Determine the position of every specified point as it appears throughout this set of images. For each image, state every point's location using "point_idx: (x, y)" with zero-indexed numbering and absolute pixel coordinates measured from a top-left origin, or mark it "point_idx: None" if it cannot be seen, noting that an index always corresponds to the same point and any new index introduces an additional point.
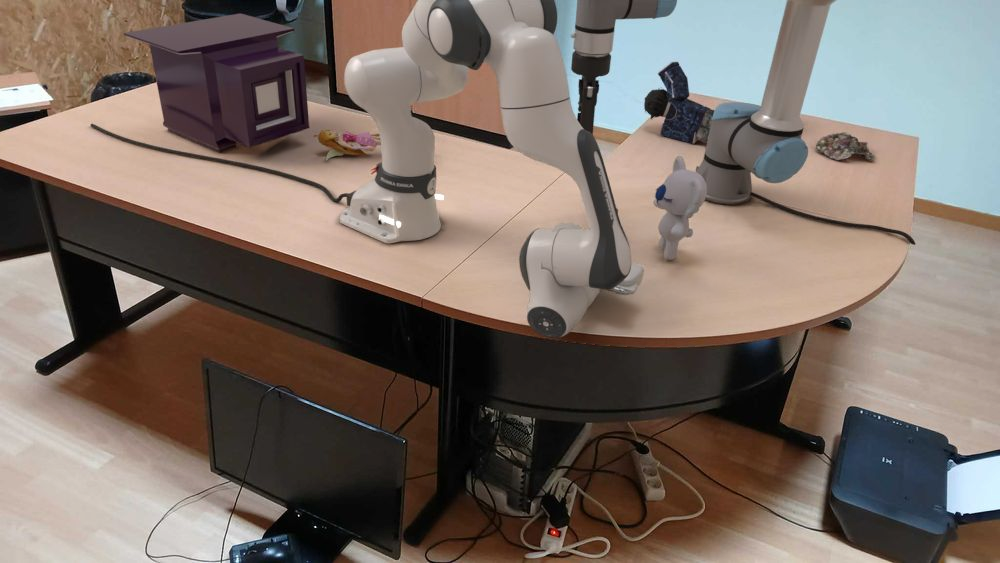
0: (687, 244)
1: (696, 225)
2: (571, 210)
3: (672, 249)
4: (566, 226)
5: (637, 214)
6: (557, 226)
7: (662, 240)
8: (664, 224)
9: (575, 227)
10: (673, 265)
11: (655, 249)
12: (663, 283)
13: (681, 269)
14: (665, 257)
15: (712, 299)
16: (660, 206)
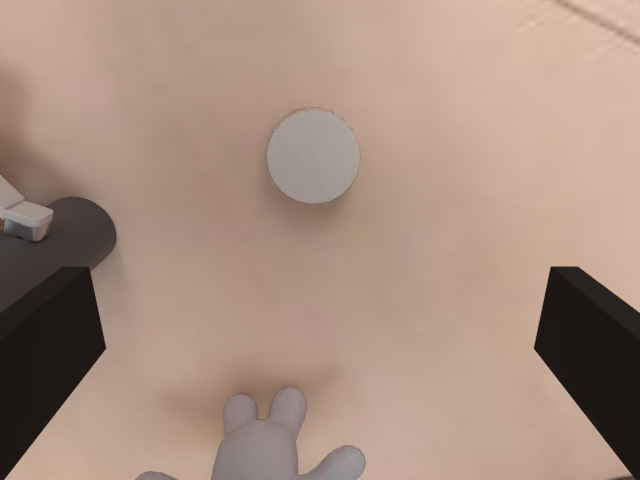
0: (332, 440)
1: (435, 466)
2: (504, 163)
3: (224, 427)
4: (326, 150)
5: (487, 349)
6: (319, 118)
7: (275, 409)
8: (231, 455)
9: (324, 180)
10: (219, 405)
11: (290, 375)
12: (126, 379)
13: (206, 418)
14: (229, 398)
15: (96, 457)
16: (319, 465)
